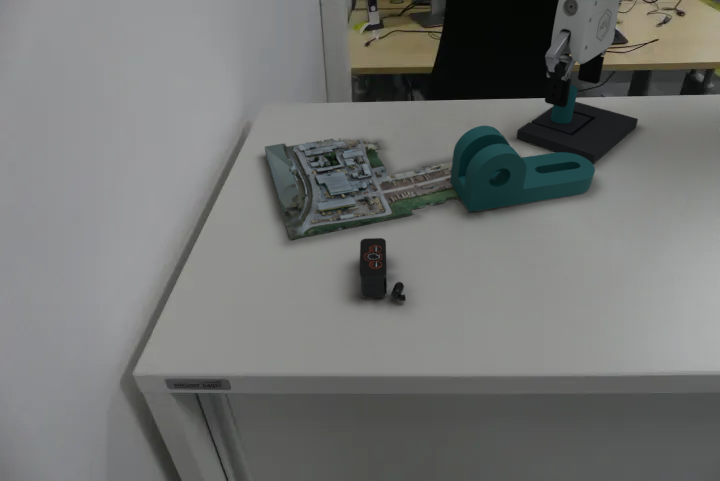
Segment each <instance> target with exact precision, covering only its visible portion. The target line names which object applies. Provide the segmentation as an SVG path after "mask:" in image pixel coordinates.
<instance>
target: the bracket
mask: <svg viewBox="0 0 720 481" xmlns="http://www.w3.org/2000/svg"><path fill="white" fill-rule="evenodd" d="M453 148H454V149H453V153H452V161H453V162H452V161H451V162H452V171H451V181H450V182H451V184H452V185H453V187H454V189H455V190H456V192H457V193H458V195H459V197H460V198H461V199H460V200H461V201H462V203H463V205H464V206H465V208H466V210H467V211H468V212H469V213H473V212H478V211H484V210H491V209H497V208H504V207H509V206H516V205H523V204H528V203H534V202H541V201H546V200H547V201H548V200H553V199H560V198H565V197H572V196H578V195H582V194H584V193H586V192H588V191H589V189H590V188H591V185H592V182H593V180H594V176H595V172H596V168H595V164H592V163H591V162H590V161H589V160H588V159H586V158H584V157H582V156H580V155H577V154H573V153H567V152H550V153H549V152H548V153H543V154H537V155H529V156H522V157H521V155H520V154H519V153H518V152H517V151H516V149H515V148H514V147H513V146H511V145H510V143H509V141H508V140H507V138H506V137H505V136H504V135H503V134H502V133H501V132H500V131H499V130H498V128H495V127H494V126H492V125H479V126H478V125H477V126H476V127H473V128H471V129H469V130H467V131H465V132H464V133H463V134H462V135H461V136H460V137H459V139H458V140H457V142H456V144H454V147H453Z"/></svg>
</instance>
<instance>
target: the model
mask: <svg viewBox="0 0 720 481" xmlns="http://www.w3.org/2000/svg"><path fill="white" fill-rule="evenodd" d="M381 149H382V147H381V146H380V144H379V143H378V141H376V142H373V143H371V142H366V141H363V140H360V139H356V140H355V139H341V138H340V137H339V140H335V139H333V138H328V139H323V140H317V141H310V142H304V143H300V144H299V143H298V144H293V145H288V146H287V143H276V144H272V145H271V144H270V145H266V146H264V152H265V158H266V160H267V163H268V164H267V165H268V167H269V171H270V174H271V177H272V178H271V179H272V181H273V185H274V188H275V192H276V195H277V199H278V202H279V206H280V209H281V213H282V216H283V218H284V219H283V220H284V223H285V227H286V231H287V234H288V238H289V240H290V241H293V240H297V239H302V238H306V237H313V236H317V235H323V234H326V233H327V234H328V233H332V232H337V231H341V230H346V229H351V228H357V227H360V226H365V225H371V224H376V223H379V222H385V221H390V220H395V219H400V218H404V217H405V218H406V217H409V216H412V215H414V212H413V211H414V210H418V209H423V208H425V207H426V206H427V205H429V206H431V207H433V206H437V205H442V204H445V203H446V202H447V201H448V200H449V201H450V200H453V199H454V200H458V201H460V200H461V198H460V197H459V195H458V193H457V192H456V190H455V189H454V187H453V185H452V184H451V182H450V181H451V171H452V162H453V160H452V161H448V162H442V163H437V164H432V165H426V166H423V167H421V168H418V169H416V170H411V171H406V172H400V173H396V174H388V173H387V171H386V170H387V168H386V166H385V165H384V163H383V161H382V160H381V158H380V157H379V155H378V151H376V150H381ZM412 210H413V211H412Z"/></svg>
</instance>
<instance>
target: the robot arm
mask: <svg viewBox="0 0 720 481" xmlns="http://www.w3.org/2000/svg"><path fill="white" fill-rule="evenodd" d="M620 1H621V0H558V1H557V6H556V10H555V11H556V12H555V17H554V23H553V27H552V28H553V29H552V33H551V43H550V47H549V49H548V50H547V51H546V53H545V55H544V58H545V71H546V77H547V80H546V88H545V94H544V102H545V104H549V105H552V106H553V105H556V106H560V107H565V106H567V103H568V97H569V91H570V85H572V78H570V76H571V73H572V71H573V69H574V67H575V65H576V63H577V64H578V65H579V69H578V73H577V79H578V81H582V82H586V83H590V84H595V85H597V84H598V83H600V81H601V76H602V71H603V66H604V60H605V55H606V54H607V51H608V48H610V47H611V46H612V44H613V42H614V39H615V34H616V28H617V22H618V14H619V8H620ZM566 54H568V55H566ZM560 62H563V63H566V65H565V68H564V67H563V65H562V63H560Z"/></svg>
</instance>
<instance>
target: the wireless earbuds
mask: <svg viewBox="0 0 720 481" xmlns="http://www.w3.org/2000/svg"><path fill="white" fill-rule="evenodd" d="M359 248H360V249H359V286H360V288H359V289H360V294H361V296H362V297H363V298H366V299H367V298H370V299H371V298H384V297H385V296H386V295H387V294H388V273H387V272H388V270H387V268H388V267H387V240H386V239H384V238H382V237H376V238H375V237H371V238H363V239H361V240H360V242H359ZM404 289H405V285H404V283H403V282H402V281H397V282H396V283H395V284H393V288H392V289H391V292H390V296H391V298H392V299H393V300H395V301H400V302H406V299H407V298H406V294H403V292H404Z"/></svg>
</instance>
